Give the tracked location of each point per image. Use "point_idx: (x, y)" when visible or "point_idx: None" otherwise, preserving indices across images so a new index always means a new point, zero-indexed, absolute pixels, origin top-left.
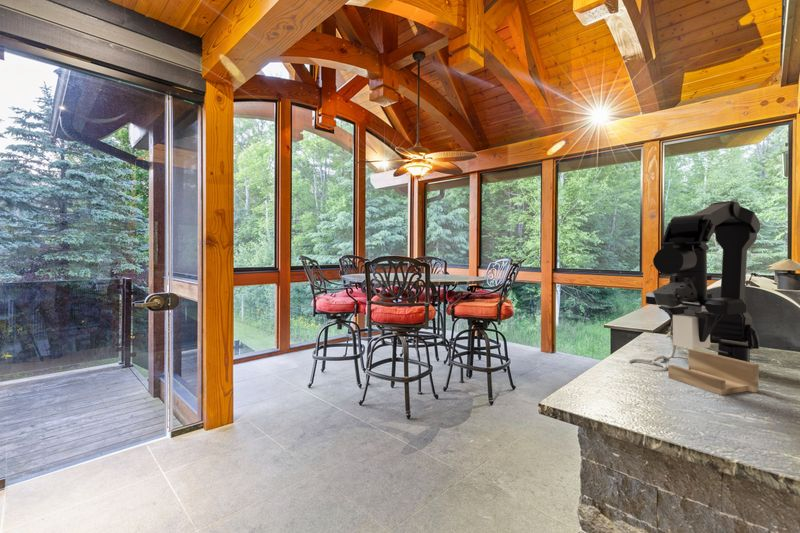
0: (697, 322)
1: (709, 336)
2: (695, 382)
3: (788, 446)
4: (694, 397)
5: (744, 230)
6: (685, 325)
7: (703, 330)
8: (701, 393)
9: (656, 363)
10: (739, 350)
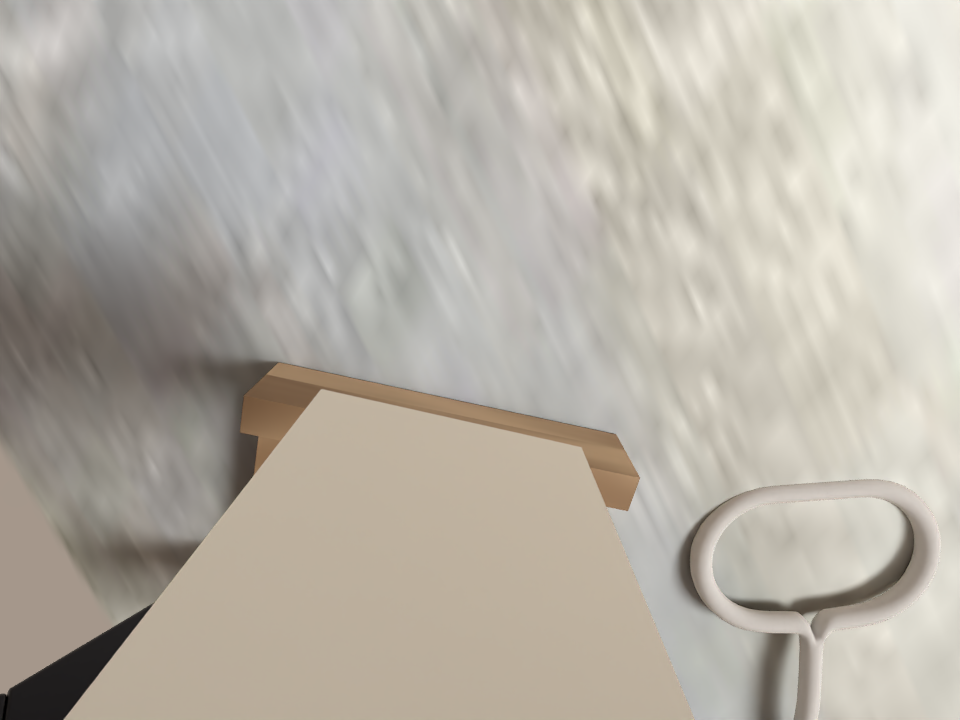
0: None
1: None
2: (433, 405)
3: None
4: (330, 176)
5: None
6: (337, 646)
7: (52, 664)
8: (351, 296)
9: (776, 613)
10: None
